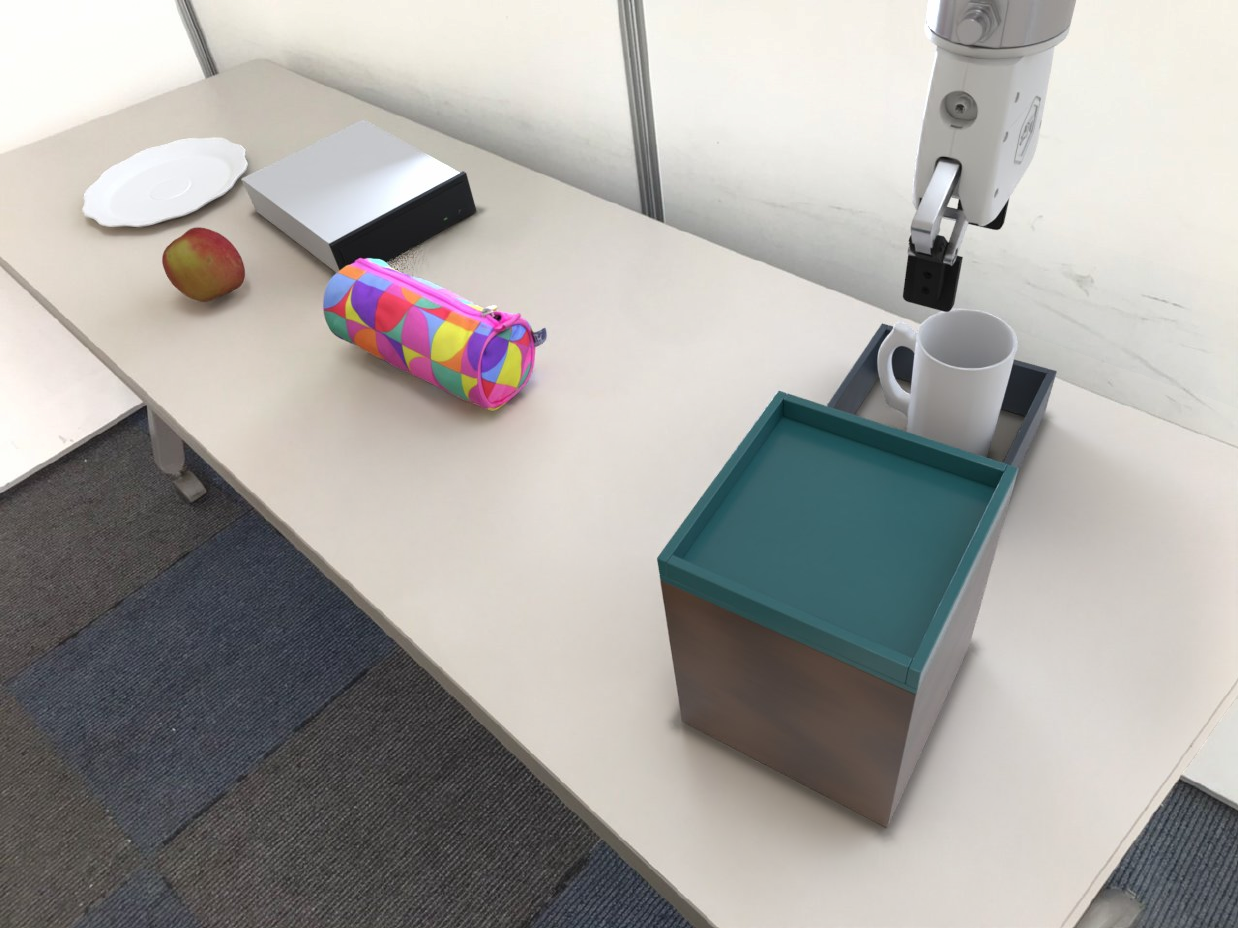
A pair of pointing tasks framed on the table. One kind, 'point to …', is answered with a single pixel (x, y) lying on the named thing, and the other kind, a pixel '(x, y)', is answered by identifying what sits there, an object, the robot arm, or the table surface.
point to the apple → (203, 264)
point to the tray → (842, 535)
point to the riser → (813, 698)
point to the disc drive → (360, 196)
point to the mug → (952, 376)
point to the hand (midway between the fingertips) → (954, 262)
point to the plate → (164, 182)
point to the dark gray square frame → (1021, 395)
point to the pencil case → (432, 332)
